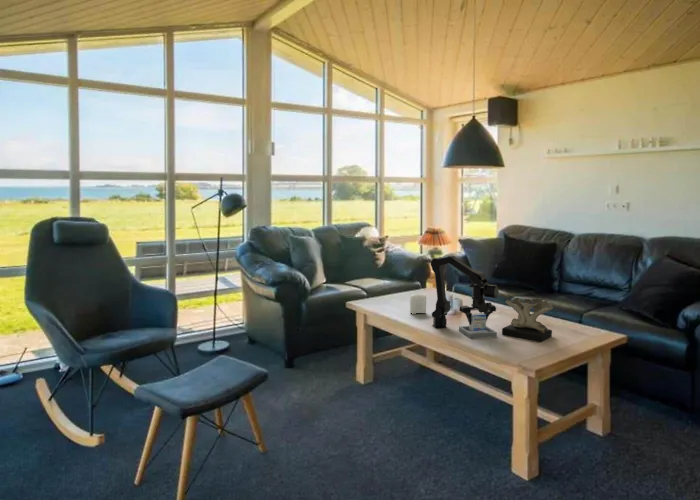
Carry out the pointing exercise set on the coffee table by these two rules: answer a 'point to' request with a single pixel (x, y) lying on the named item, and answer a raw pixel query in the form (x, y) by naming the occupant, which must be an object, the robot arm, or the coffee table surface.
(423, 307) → the photo printer
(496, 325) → the coffee table surface
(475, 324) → the medicine box
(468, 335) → the tray
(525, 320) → the coral
